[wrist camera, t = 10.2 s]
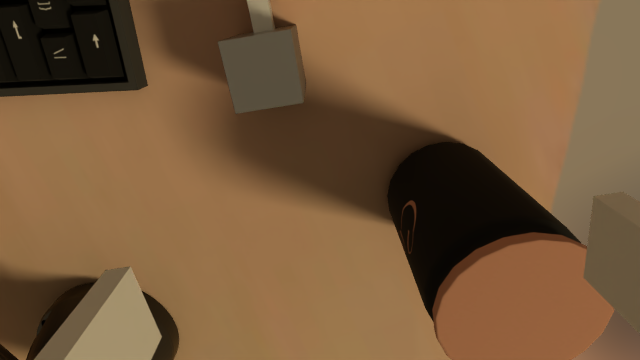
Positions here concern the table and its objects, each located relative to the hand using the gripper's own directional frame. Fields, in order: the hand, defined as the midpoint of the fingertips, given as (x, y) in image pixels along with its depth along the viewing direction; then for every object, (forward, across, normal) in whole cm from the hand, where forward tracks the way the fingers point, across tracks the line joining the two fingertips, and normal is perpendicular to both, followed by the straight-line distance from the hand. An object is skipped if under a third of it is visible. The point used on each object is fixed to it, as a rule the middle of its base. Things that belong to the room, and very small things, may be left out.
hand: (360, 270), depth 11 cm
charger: (+27, -4, +6) cm, 27 cm away
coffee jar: (+27, +9, -11) cm, 31 cm away
